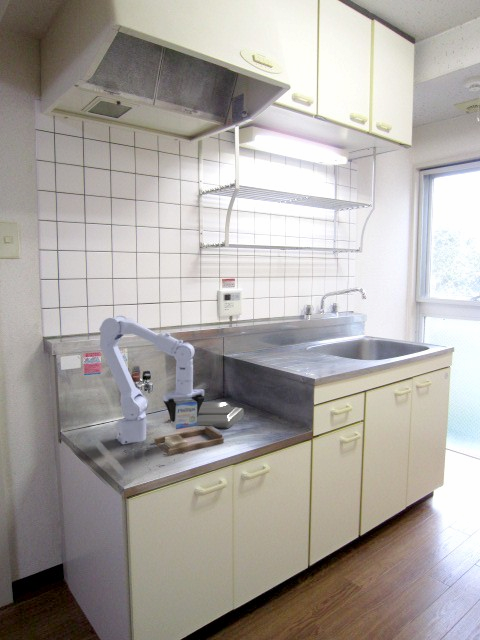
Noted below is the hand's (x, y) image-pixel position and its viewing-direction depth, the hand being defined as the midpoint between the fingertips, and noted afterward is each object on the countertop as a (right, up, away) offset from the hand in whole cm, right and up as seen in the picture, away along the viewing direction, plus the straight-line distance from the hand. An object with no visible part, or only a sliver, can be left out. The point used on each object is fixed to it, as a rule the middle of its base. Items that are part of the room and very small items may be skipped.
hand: (183, 418), depth 147 cm
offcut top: (-2, -8, -3) cm, 9 cm away
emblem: (+6, -7, +29) cm, 31 cm away
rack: (+2, -10, 0) cm, 10 cm away
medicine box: (0, -3, 0) cm, 3 cm away
